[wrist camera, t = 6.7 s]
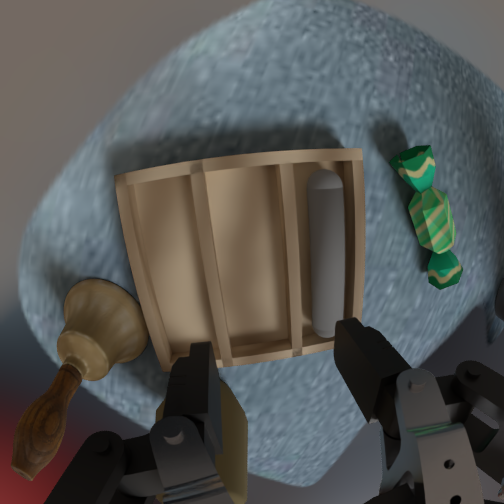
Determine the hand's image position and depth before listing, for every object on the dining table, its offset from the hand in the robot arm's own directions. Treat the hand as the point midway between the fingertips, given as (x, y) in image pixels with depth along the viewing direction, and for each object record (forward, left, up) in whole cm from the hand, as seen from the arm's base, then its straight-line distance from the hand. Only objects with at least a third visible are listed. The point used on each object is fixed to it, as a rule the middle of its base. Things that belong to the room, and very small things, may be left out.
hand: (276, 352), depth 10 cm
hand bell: (+13, +4, -11) cm, 18 cm away
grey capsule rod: (-5, 0, -10) cm, 11 cm away
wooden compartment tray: (0, 0, -11) cm, 11 cm away
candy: (-15, -2, -12) cm, 19 cm away
